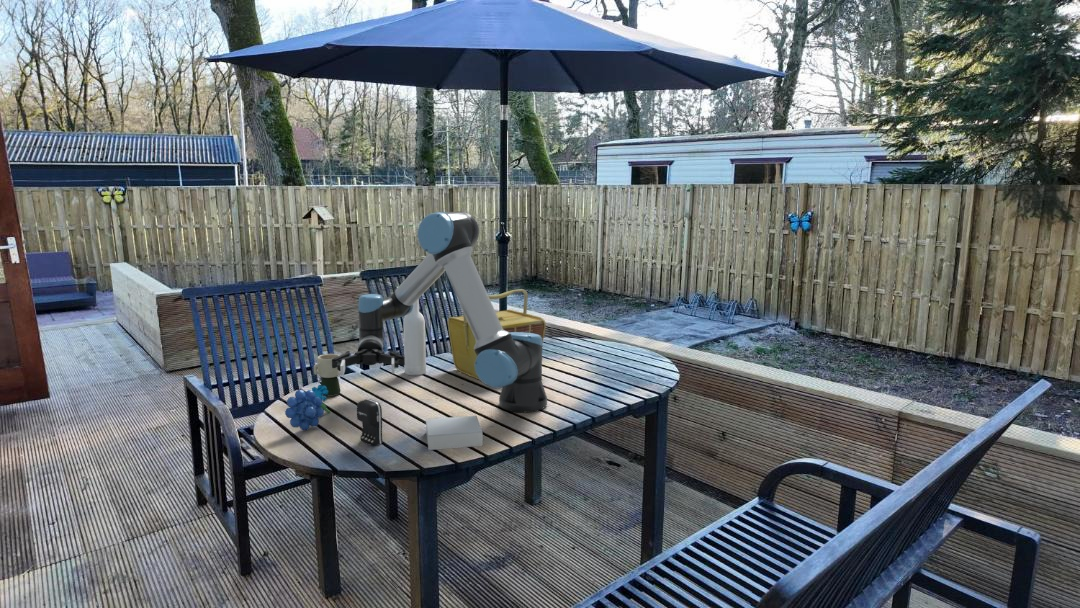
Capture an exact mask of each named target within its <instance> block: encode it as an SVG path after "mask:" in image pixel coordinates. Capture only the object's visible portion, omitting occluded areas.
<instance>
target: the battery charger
mask: <svg viewBox="0 0 1080 608" xmlns="http://www.w3.org/2000/svg"><path fill="white" fill-rule="evenodd" d="M356 420H357V421H359V422H361V424H362V431H361V434H360V438H359V439H360V442H362V443H363V444H366V443H367V445H369V446H372V447H373V446H378V445H382V443H383V410H382V405H381V403H380V402H379V401H376V400H374V399H372V398H371V399H370V398H366V399H364V400H360V401H359V402H357V404H356Z"/></svg>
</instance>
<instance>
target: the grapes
mask: <svg viewBox="0 0 1080 608" xmlns="http://www.w3.org/2000/svg"><path fill="white" fill-rule="evenodd" d="M286 401H287V402H286V404H287V406H288V407H287V408H286V409H285V410H284V415H285V417H287V418H288V419H290V420H289V424H290V426H291V427H293V428H300V430H301V431H308V430H309V429H310V427H317V426H318V425H319V424H320V419H319V418H322V417H323V416H324V414H325V410H323V409H322V408H321V407H320V406H321V405H322V404H324V401H323V400H322V399H321V398H320V397H316V395H315V392H314V391H312V389H308V390H306V391H305V390H303V389H298V390H296V392H295V393H294V396H290V397H288V398H287V400H286Z"/></svg>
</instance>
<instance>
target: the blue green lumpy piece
mask: <svg viewBox="0 0 1080 608" xmlns="http://www.w3.org/2000/svg"><path fill="white" fill-rule="evenodd" d="M326 389H327V388H326V386H321V384H318V385H317V387H316V386H313V387H312V388H311V390H312V391H314V392H315V395H316V397H320V398H321V399H322V402H325V401H326V400H327V399H328V397H327V396H326V395H327V394H328V390H326ZM322 391H323V392H322ZM323 394H325V395H323ZM320 407H321V408H322V409H323V410H324V412H326V413H327V414H331V410H329V409H328V408H327V405H326V404H325V403H323V404H322V405H321V406H320Z"/></svg>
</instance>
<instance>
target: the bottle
mask: <svg viewBox="0 0 1080 608" xmlns="http://www.w3.org/2000/svg"><path fill="white" fill-rule="evenodd" d="M419 300H420V298H419V299H418V300H417V301H416V302H415V303H414V304H413V309H412V311H411V312H410V313H409V314H407V315H405V316H403V317H404V318H403V354H404V355H403V356H404V357H405V365H403V367H404V374H405V375H407V376H422V375H425V374H426V373H427V361H426V359H427V356H426V355H427V354H426V352H427V351H426V349H427V348H426V320H425V317H424V315H423V314H422V313H421V311H420V306H419V305H420V304H419V303H420V301H419Z"/></svg>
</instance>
